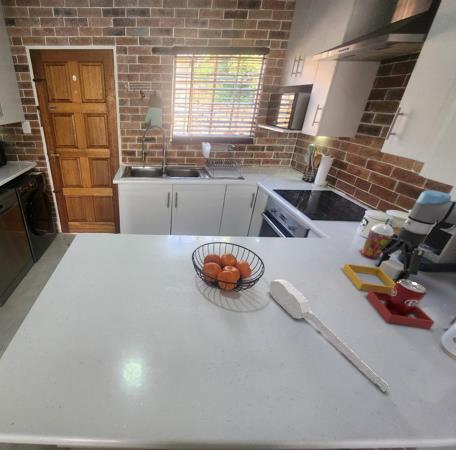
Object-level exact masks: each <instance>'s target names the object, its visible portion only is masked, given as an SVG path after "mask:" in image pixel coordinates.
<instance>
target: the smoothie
mask: <svg viewBox="0 0 456 450" xmlns="http://www.w3.org/2000/svg"><path fill="white" fill-rule="evenodd" d="M389 221H390V218H387V219H386V221H385V222H379V223H376V224H374V225H373V226H371V227H370V229H369V232H368V235H367V237H366V240H365V241H364V245H363V247H362V249H361V252H362V253H361V254H362V256H364V257H365V258H368V259H372V260H376V259H378V258H381V256H382V251H381V250H380V248H381V247H382V246H383V245H384V244H385V243H386V242H387V241H388V240H389V239H390V238H391V237H392V235H393V234H395V232H394V229H393V227H392V226H391V225H390V224H388V223H389Z"/></svg>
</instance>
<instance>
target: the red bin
mask: <svg viewBox="0 0 456 450" xmlns="http://www.w3.org/2000/svg"><path fill="white" fill-rule="evenodd" d="M388 295H389V293H385V292H378V291H368V293H367V294H366V297H365V298H366V299H367V300H368V301H369V303H370V304H371V305H372V306H373V307H374V309H375V310H376V311H377V313H379V315H380V316H381V317H382V318H383V320H384V321H385V322H386V323H387V324H393V325H399V326H406V327H413V328H419V329H425V330H430V329H431V328H432V327H433V325H434V324H435V321H434V320H433V319H432V318H431V317H430V316H429V315H428V314H427V313H426V312H425V311H424V310H423V309H421V307H420V306H419V305H418V306H417V308H416V309H415V311H414V312H413V314H412V315H413V316H414V317H412V316H410V317H405V316H398V315H392V314H391V313H390V311H389V310H388V309H387V308H386V307H385V306H384V304H383V303H384V302H385V300H386V298H387V297H388ZM382 301H383V302H382Z"/></svg>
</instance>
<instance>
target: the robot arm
mask: <svg viewBox="0 0 456 450" xmlns="http://www.w3.org/2000/svg"><path fill="white" fill-rule="evenodd" d="M439 221H440V222H443V223H447V224H451V225H454V226H456V199H455V200H452V195H451V194H449V193H447V192H442V191H439V190H431V189H430V190H429V189H428V190H424V191H423V192H421V193H420V195H419V196H418V198H417V200H416V201H415V203H414V205H413V207H412V209H411V211H410V212H409V214H408V216H407V218H406V220H405V222H403V225H402V227H401V228H400V230H399V232H398V234H397V233H394V234H393V235H392V237H391V238H390V239H389V240H388V241H387V242H386V243H385V244H384V245H383V246H382V247H381V248H380V250H381V251H382V254H381V255H380V257H379V261H378V262H377V265H376V268H379V267H380V265H381V263H382V262H383V261H388V260H391V259H390V258H392V257H391V256H392V254H393V253H395V252H398V251H401V252H402V256H403V265H404V269H403V271H401V272H400V273H399V275H398V277H397V278H396V279H395V280H393V281H394V282H395V283H396V282H397V281H398V280H401V279H406V280H409V278H410V276H411V275H412V276H417V275H418V274H419V269H420V265H421V262H422V259H423V256H424V254H425V250H424V249H423V250H422V249H420V248H419V246H420V245H421V244H423V243H425V241H426V239H427V238H428V234H430V233H431V231H432V230H433V228H434V226H435V224H436V222H439Z"/></svg>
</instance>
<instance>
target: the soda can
mask: <svg viewBox="0 0 456 450" xmlns="http://www.w3.org/2000/svg"><path fill="white" fill-rule="evenodd" d="M426 295H427V290H426V288H425V286H423V285H421V284H420V283H418V282H416V281H413V280H410V279H407V280H406V279H401V280H398V281H397V282H396V284H395V285H394V287H393V289H392V290H391V292H390V293H389V295H388V297H387V298H386V300H385V301H383V302H382V303H383V304H384V306H385V307H386V308H387V309H388V310H389V311H390V313H391V314H392V315H398V316H405V317H412V315H413V312H414V311H415V309H416V308H417V306H418V307H419V305H420V304H421V302H422V301H423V299H424V298H425V297H426Z"/></svg>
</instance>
